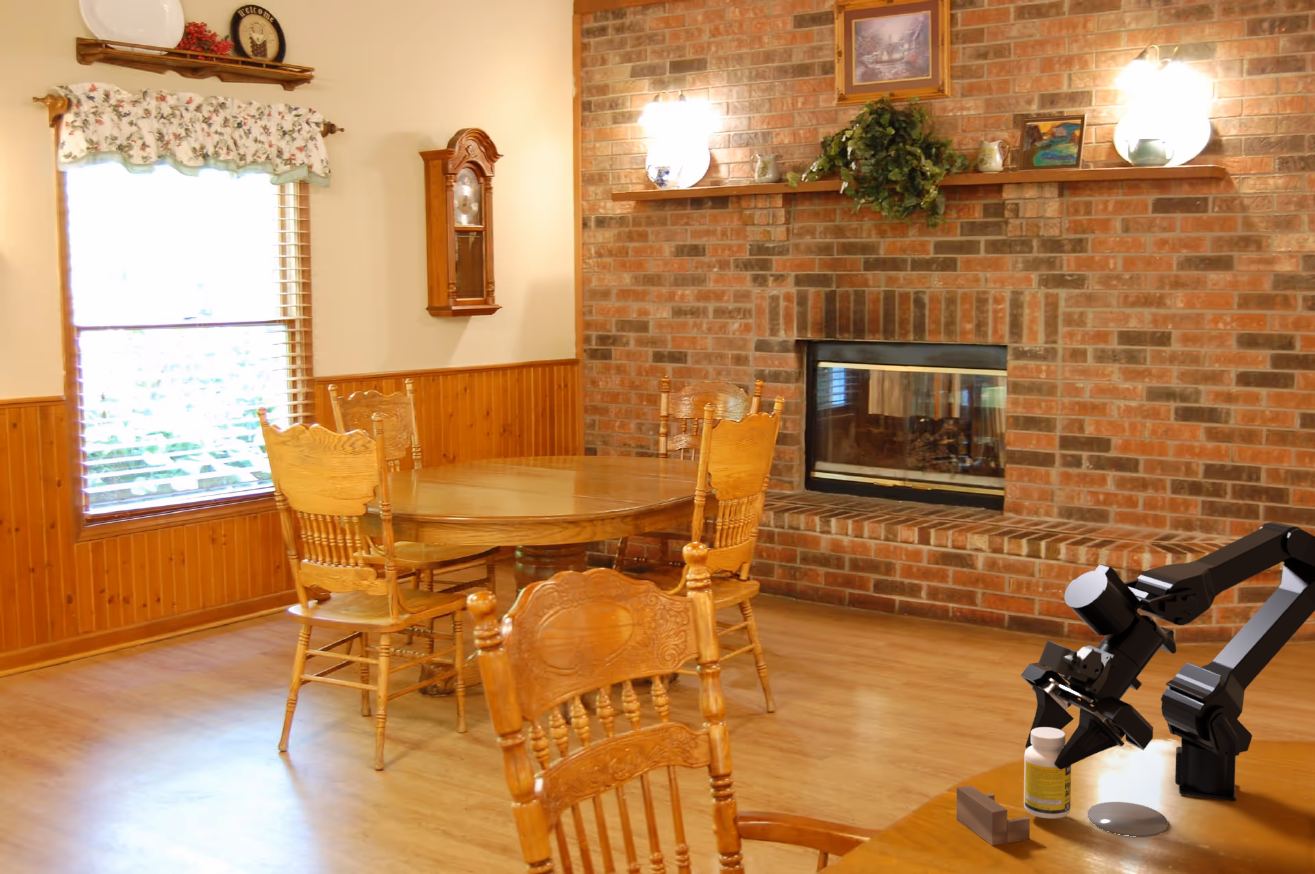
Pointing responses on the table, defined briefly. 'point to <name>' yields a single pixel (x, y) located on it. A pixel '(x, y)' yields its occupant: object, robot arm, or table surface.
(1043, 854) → the table surface
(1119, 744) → the robot arm
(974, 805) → the bracket
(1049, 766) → the supplement bottle
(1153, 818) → the slate coaster
